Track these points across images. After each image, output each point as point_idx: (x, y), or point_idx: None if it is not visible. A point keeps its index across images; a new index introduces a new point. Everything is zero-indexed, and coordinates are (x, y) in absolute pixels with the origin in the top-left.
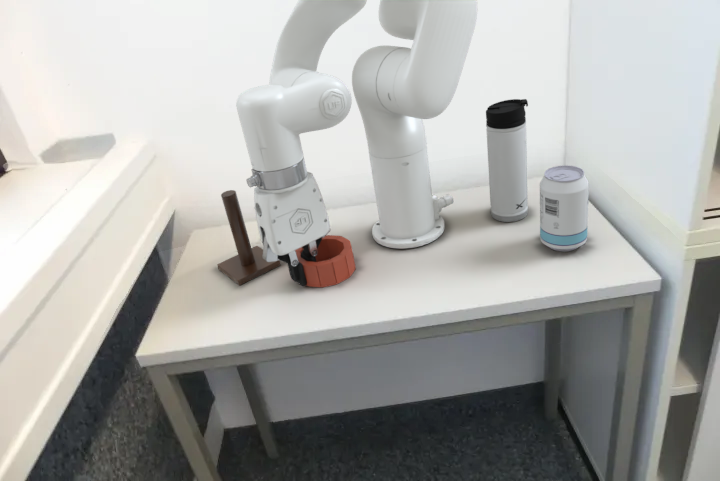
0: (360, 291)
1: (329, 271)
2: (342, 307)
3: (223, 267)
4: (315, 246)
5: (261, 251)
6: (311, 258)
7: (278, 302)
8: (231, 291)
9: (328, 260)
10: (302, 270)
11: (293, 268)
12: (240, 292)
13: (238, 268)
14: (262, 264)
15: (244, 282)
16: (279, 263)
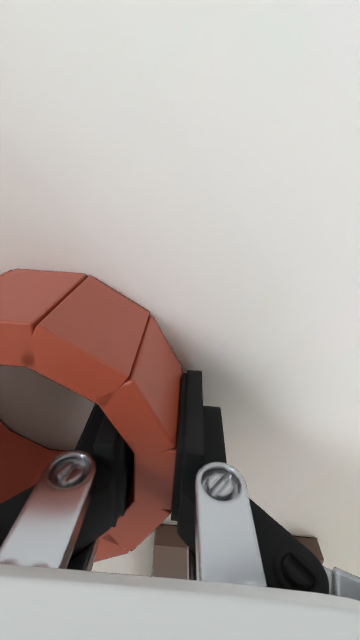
0: (36, 117)
1: (83, 314)
2: (192, 74)
3: None
4: (34, 506)
5: None
6: (108, 449)
7: (327, 374)
8: (353, 534)
9: (39, 364)
10: (189, 421)
11: (224, 461)
12: (344, 512)
13: None
14: None
15: (297, 538)
16: (159, 532)
